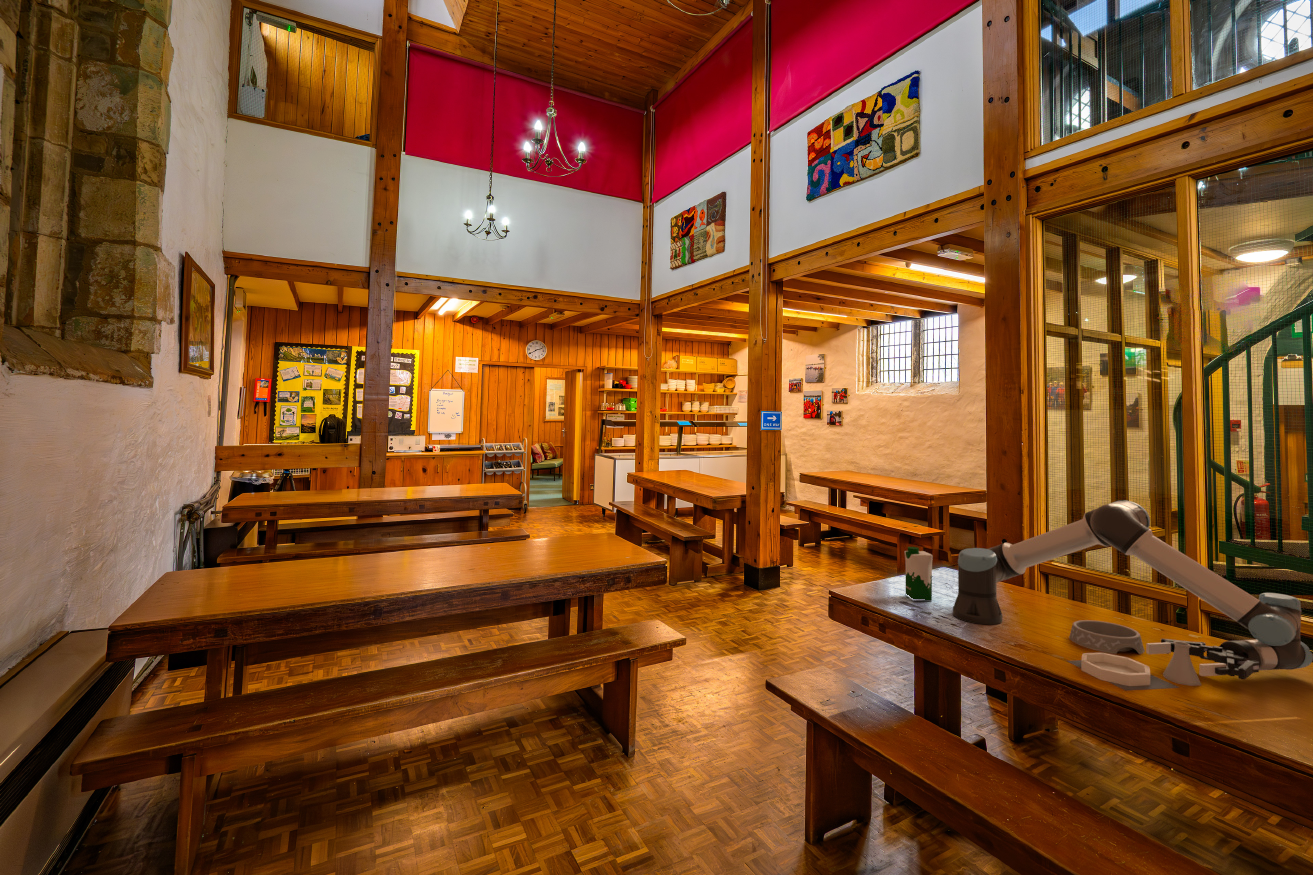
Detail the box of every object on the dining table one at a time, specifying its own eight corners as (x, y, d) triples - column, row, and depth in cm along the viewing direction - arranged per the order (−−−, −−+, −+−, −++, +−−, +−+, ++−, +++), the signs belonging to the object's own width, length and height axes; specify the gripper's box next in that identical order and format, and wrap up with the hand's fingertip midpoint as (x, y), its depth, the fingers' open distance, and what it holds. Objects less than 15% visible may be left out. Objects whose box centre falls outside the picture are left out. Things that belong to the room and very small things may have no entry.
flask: (1208, 688, 141) (1209, 649, 141) (1175, 686, 142) (1175, 647, 142) (1187, 676, 148) (1187, 639, 148) (1156, 674, 150) (1156, 637, 149)
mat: (1066, 662, 157) (1066, 660, 157) (1115, 659, 159) (1115, 658, 159) (1125, 691, 139) (1125, 690, 139) (1179, 688, 141) (1179, 687, 141)
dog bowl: (1055, 635, 179) (1055, 618, 179) (1114, 635, 179) (1114, 618, 179) (1096, 656, 162) (1096, 638, 162) (1160, 657, 162) (1160, 638, 161)
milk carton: (902, 595, 222) (902, 545, 222) (925, 595, 222) (925, 545, 222) (912, 602, 213) (912, 550, 213) (935, 602, 213) (935, 550, 213)
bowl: (1068, 663, 155) (1068, 653, 155) (1115, 661, 157) (1115, 651, 157) (1114, 686, 141) (1114, 675, 141) (1164, 684, 143) (1164, 673, 143)
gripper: (1305, 691, 134) (1226, 695, 132) (1196, 650, 159) (1128, 654, 157) (1305, 660, 134) (1226, 664, 132) (1196, 624, 159) (1128, 627, 157)
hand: (1172, 658), depth 145 cm, fingers open, 13 cm apart
